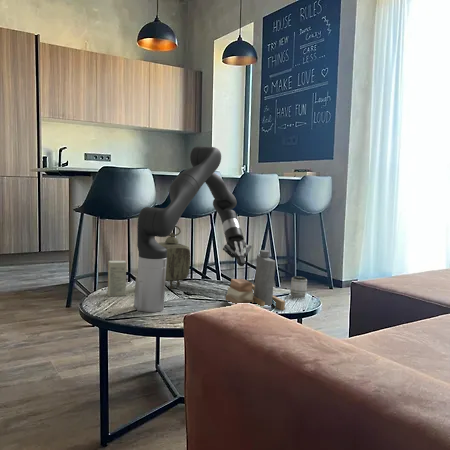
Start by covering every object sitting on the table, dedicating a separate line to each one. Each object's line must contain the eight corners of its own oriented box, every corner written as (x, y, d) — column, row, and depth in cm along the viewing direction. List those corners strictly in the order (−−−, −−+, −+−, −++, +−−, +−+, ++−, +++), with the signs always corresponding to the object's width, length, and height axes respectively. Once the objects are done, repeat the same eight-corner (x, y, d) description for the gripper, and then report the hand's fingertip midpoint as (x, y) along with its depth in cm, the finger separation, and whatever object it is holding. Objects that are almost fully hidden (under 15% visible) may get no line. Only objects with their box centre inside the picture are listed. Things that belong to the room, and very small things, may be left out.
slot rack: (260, 310, 156) (261, 302, 155) (229, 291, 181) (230, 283, 181) (284, 309, 159) (285, 301, 159) (250, 290, 185) (251, 283, 185)
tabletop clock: (180, 284, 186) (184, 224, 184) (190, 289, 179) (194, 227, 176) (147, 286, 179) (151, 224, 176) (156, 292, 171) (160, 226, 169)
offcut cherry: (239, 291, 158) (239, 283, 157) (230, 287, 164) (231, 279, 164) (251, 291, 160) (252, 283, 160) (242, 286, 166) (243, 278, 166)
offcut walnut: (235, 309, 157) (236, 301, 157) (225, 302, 165) (225, 294, 165) (253, 308, 160) (254, 300, 159) (242, 301, 168) (243, 294, 168)
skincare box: (124, 293, 166) (126, 260, 165) (125, 296, 162) (127, 262, 161) (106, 293, 164) (108, 259, 163) (107, 296, 160) (108, 262, 159)
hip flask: (272, 310, 157) (277, 254, 155) (261, 310, 156) (266, 253, 154) (260, 299, 172) (264, 247, 171) (250, 298, 171) (254, 246, 170)
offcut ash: (238, 300, 157) (238, 292, 157) (227, 295, 164) (227, 287, 164) (252, 299, 160) (253, 291, 160) (241, 294, 167) (242, 286, 167)
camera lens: (288, 293, 184) (290, 275, 184) (303, 294, 185) (305, 275, 184) (292, 297, 178) (293, 278, 178) (307, 298, 179) (309, 279, 178)
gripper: (221, 225, 187) (230, 259, 177) (249, 226, 192) (260, 260, 182) (215, 236, 192) (224, 270, 182) (243, 237, 197) (253, 270, 187)
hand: (242, 265), depth 182 cm, fingers closed
